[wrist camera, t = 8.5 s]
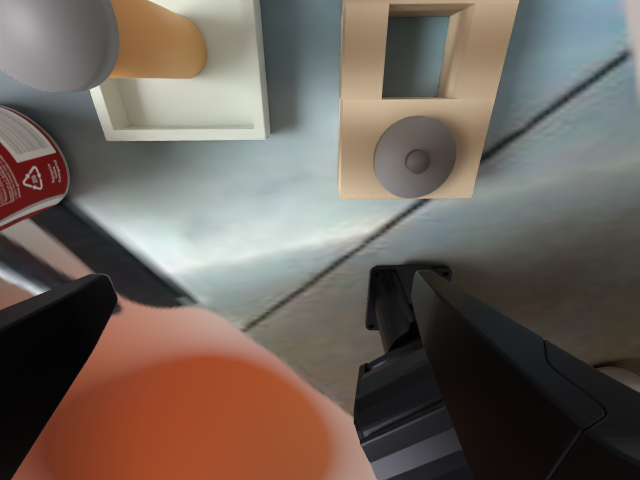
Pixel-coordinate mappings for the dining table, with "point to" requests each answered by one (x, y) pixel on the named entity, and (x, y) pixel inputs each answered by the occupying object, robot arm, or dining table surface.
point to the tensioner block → (418, 101)
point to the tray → (197, 84)
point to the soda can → (28, 169)
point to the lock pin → (95, 43)
